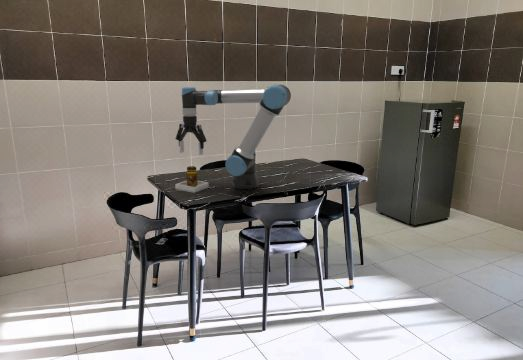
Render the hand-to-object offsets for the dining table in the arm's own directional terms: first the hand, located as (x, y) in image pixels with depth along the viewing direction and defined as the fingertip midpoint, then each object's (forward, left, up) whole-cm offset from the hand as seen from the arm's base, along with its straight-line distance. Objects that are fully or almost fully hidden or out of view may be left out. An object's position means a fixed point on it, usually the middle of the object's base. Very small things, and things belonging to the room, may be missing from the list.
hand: (191, 153), depth 224 cm
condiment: (+1, 0, -20) cm, 20 cm away
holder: (0, 0, -21) cm, 21 cm away
